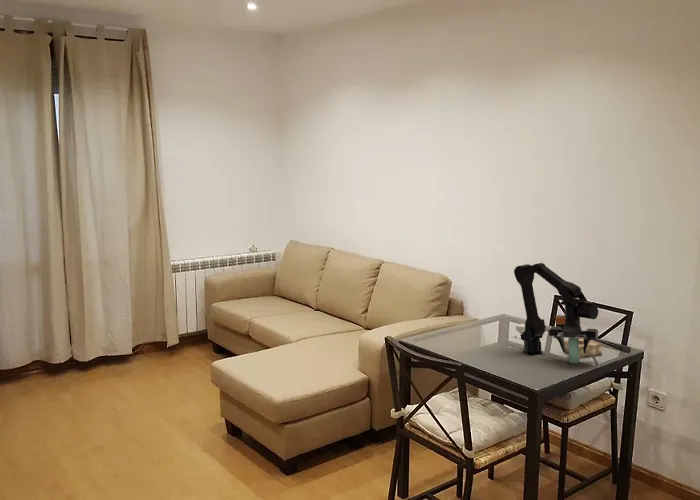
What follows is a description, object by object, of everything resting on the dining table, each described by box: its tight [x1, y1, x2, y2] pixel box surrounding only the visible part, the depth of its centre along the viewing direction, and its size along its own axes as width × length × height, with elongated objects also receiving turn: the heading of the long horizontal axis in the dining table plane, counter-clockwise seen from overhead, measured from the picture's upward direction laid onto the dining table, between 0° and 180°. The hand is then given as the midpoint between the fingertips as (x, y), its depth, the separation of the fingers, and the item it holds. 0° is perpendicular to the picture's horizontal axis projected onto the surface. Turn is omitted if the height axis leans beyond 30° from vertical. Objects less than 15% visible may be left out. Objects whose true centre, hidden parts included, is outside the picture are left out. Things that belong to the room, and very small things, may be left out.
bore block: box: [564, 337, 603, 360], centre depth 265 cm, size 11×11×5 cm
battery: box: [555, 313, 565, 329], centre depth 297 cm, size 4×7×10 cm, turn 76°
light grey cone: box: [515, 323, 525, 334], centre depth 299 cm, size 6×6×6 cm
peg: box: [567, 337, 580, 364], centre depth 254 cm, size 4×4×10 cm
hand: (574, 352), depth 254 cm, fingers open, 8 cm apart
